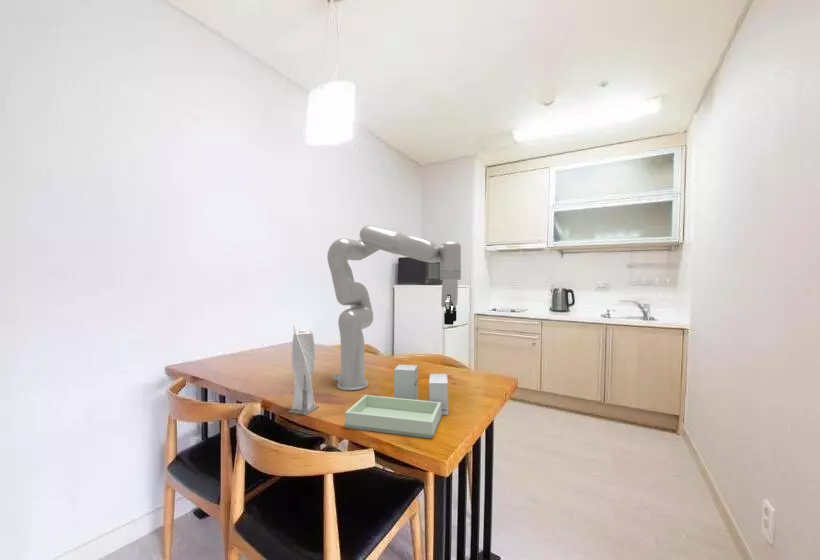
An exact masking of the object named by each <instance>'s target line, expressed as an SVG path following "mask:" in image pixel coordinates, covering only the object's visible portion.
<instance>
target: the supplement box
mask: <svg viewBox="0 0 820 560" xmlns="http://www.w3.org/2000/svg"><path fill="white" fill-rule="evenodd" d="M418 367H419V366H418V365H417V364H398V365H397V366H396V367H395V368H394V369H393V398H403V399H414V400H419V399H418V396H419V395H418V392H419V391H418V389H419V388H418V387H419V386H418V384H419V383H418V382H419V381H418V380H419V378H418V377H419V376H418V371H419V370H418Z"/></svg>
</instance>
